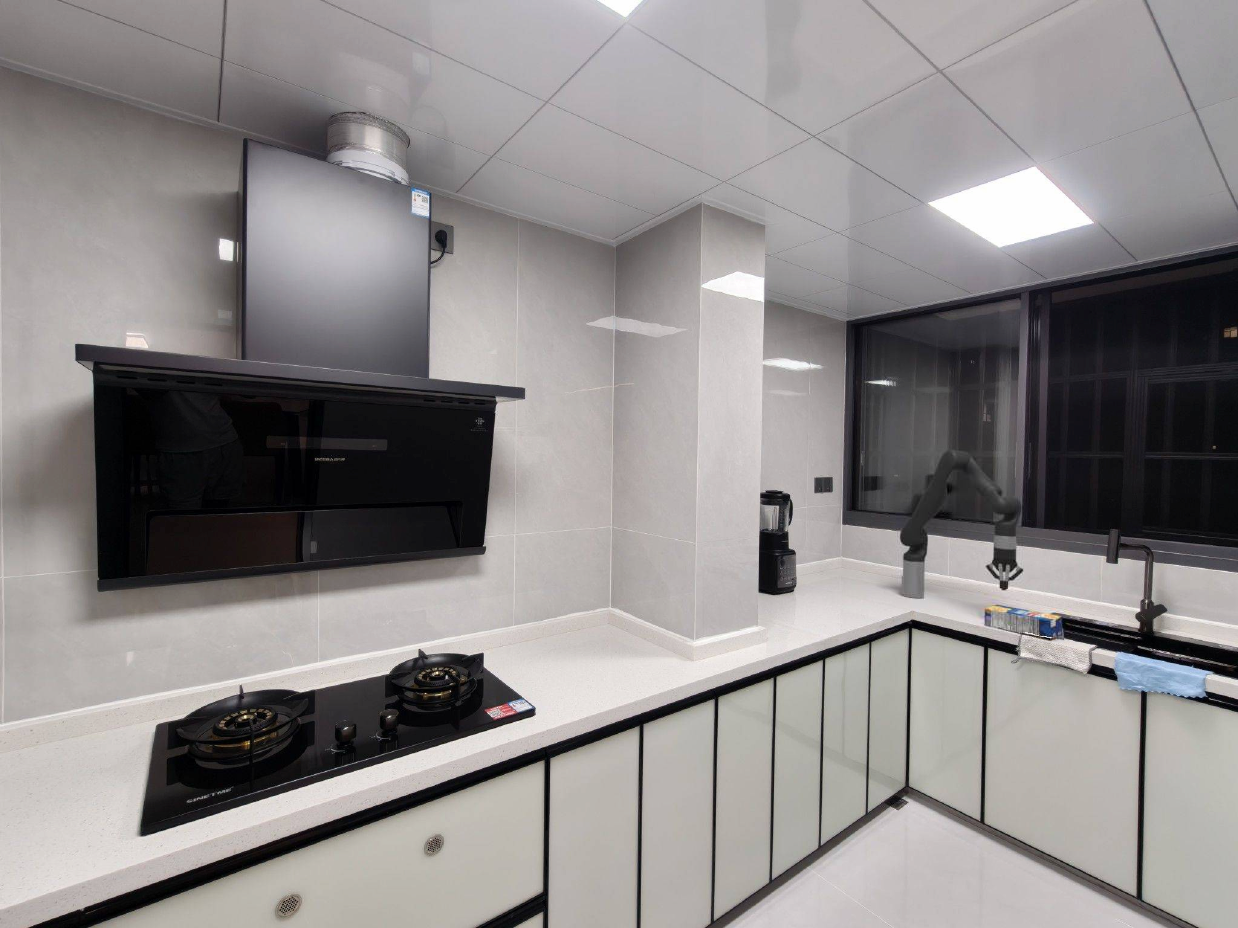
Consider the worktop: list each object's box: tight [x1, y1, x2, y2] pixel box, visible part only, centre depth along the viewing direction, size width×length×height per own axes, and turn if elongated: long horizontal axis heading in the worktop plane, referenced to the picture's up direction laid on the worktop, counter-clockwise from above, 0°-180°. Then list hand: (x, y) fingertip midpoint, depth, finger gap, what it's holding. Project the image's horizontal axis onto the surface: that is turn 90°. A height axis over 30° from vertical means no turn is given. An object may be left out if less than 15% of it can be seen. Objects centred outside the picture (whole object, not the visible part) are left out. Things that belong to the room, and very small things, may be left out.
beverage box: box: [984, 604, 1063, 639], centre depth 217 cm, size 7×11×22 cm
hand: (1003, 589), depth 224 cm, fingers closed
